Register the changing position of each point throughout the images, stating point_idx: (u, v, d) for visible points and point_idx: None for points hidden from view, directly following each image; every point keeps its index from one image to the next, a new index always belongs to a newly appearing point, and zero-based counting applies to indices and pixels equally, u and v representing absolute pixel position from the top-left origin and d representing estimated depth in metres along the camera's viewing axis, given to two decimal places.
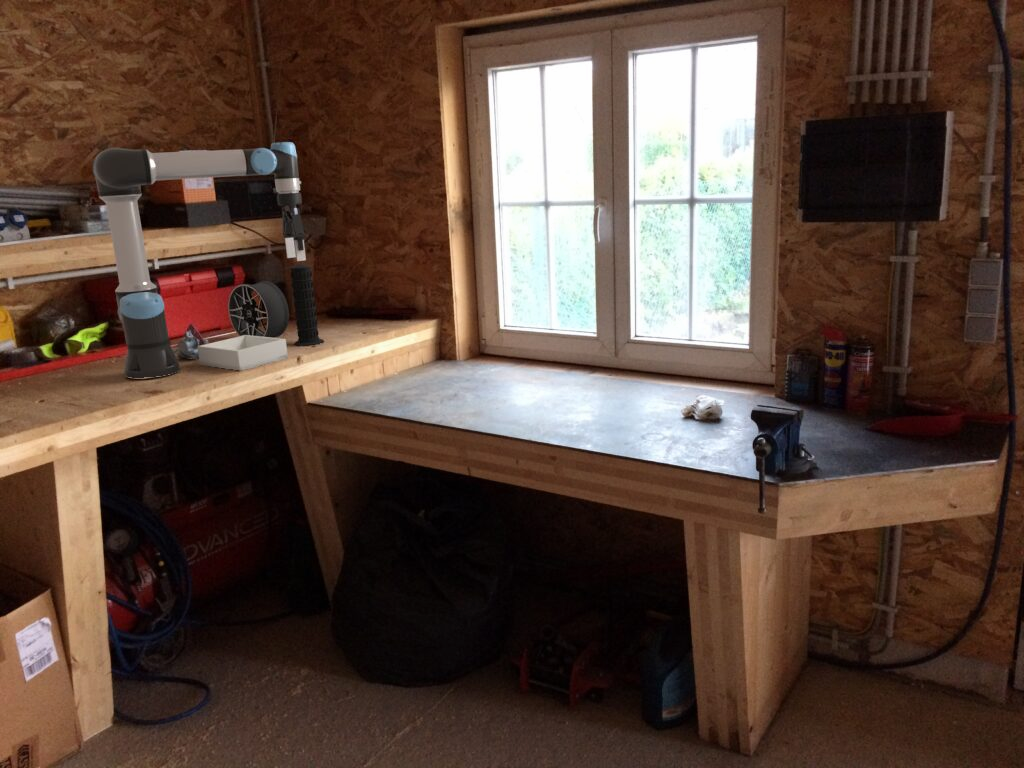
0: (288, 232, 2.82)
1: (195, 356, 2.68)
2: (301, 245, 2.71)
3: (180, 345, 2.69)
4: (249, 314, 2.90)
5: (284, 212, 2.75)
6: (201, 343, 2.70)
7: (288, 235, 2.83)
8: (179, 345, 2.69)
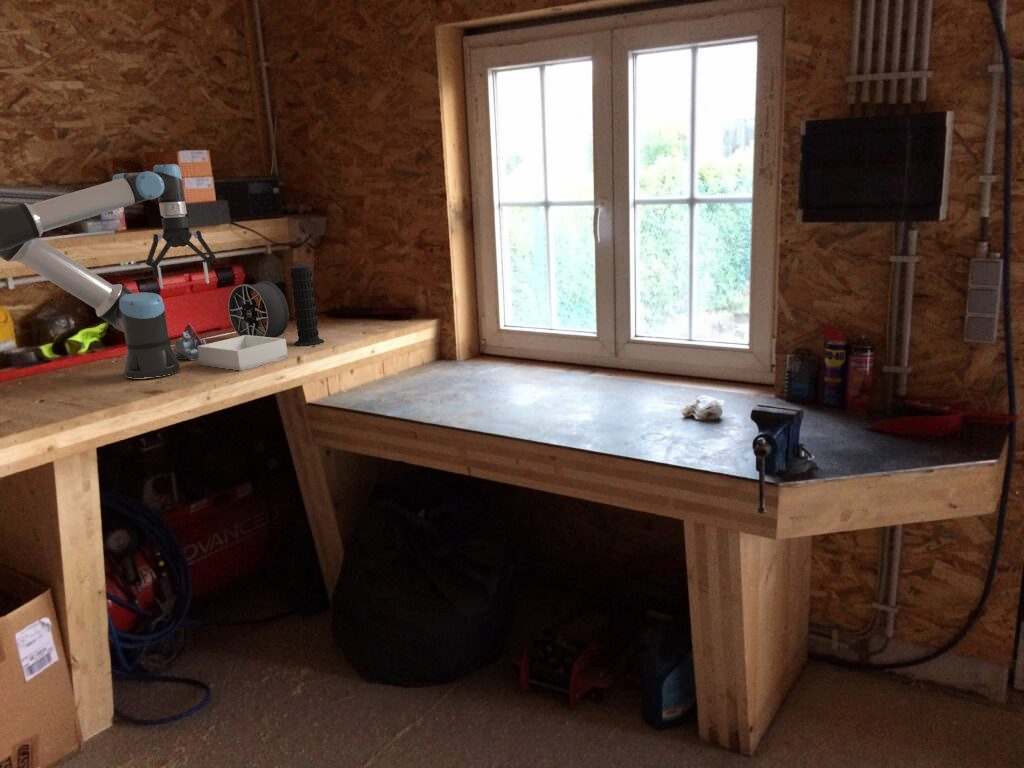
0: (200, 256, 2.68)
1: (192, 356, 2.68)
2: None
3: (177, 345, 2.69)
4: (249, 314, 2.90)
5: None
6: (198, 343, 2.69)
7: (205, 259, 2.69)
8: (177, 346, 2.69)
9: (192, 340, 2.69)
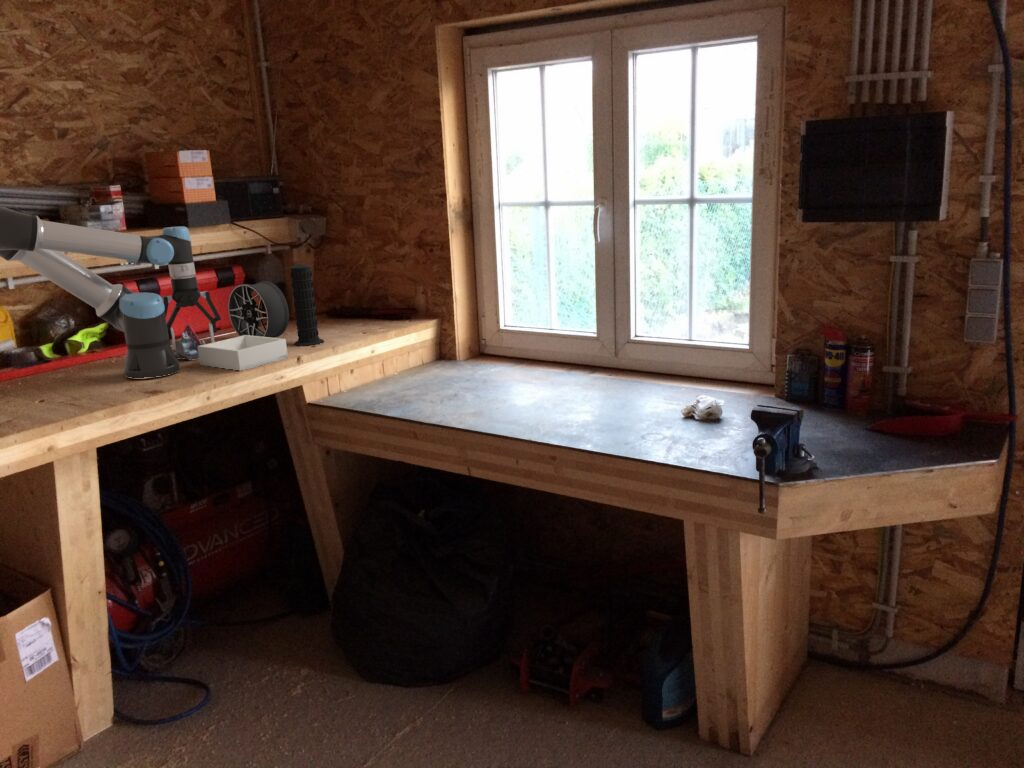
0: None
1: (191, 357, 2.68)
2: None
3: (177, 346, 2.69)
4: (249, 314, 2.90)
5: None
6: (197, 344, 2.69)
7: (211, 320, 2.73)
8: (176, 346, 2.69)
9: (191, 341, 2.69)
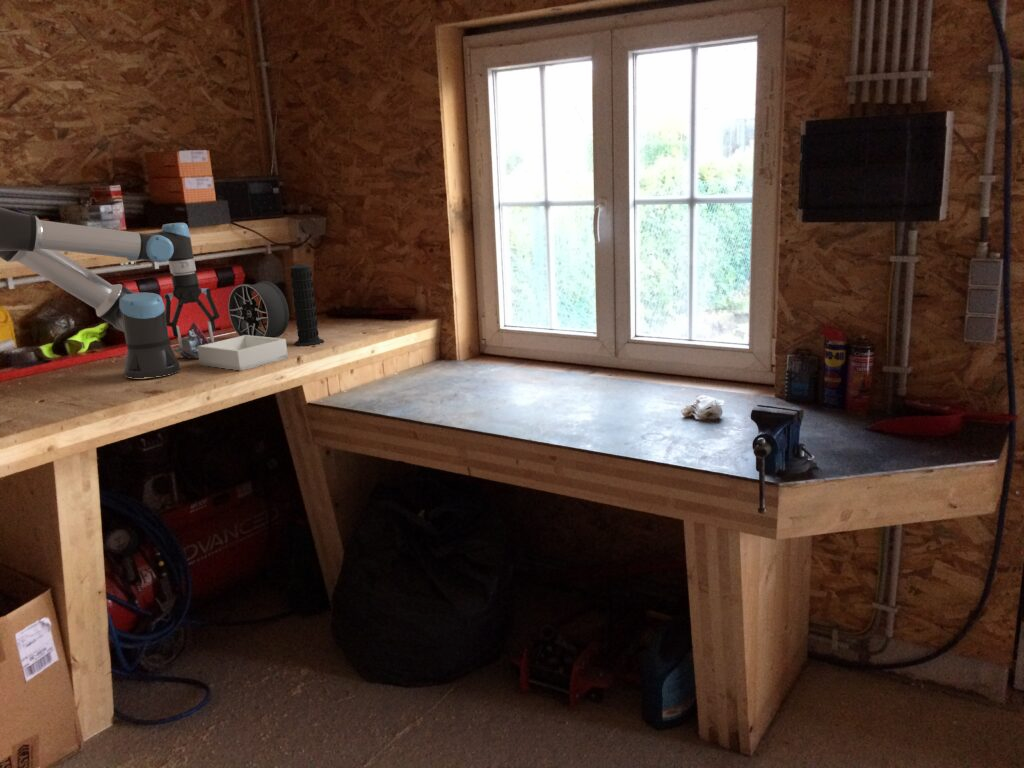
0: None
1: (198, 355, 2.69)
2: (173, 332, 2.68)
3: (183, 344, 2.70)
4: (249, 314, 2.90)
5: None
6: (204, 342, 2.70)
7: None
8: (182, 344, 2.70)
9: (198, 339, 2.70)
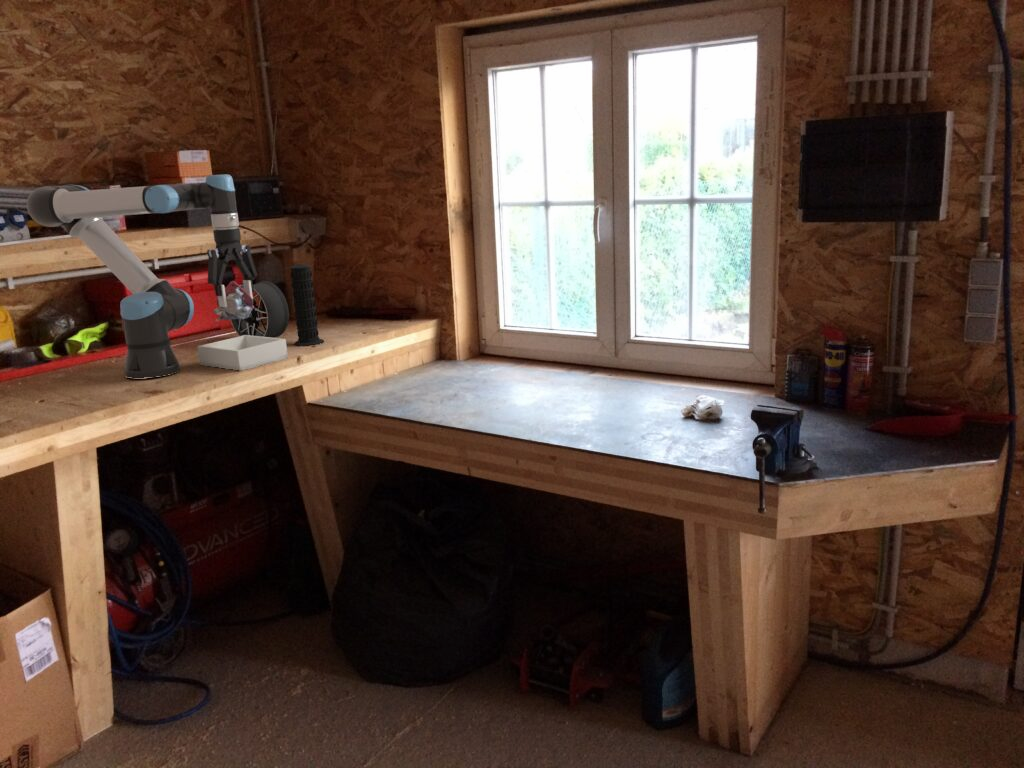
0: (243, 273, 2.59)
1: (245, 314, 2.56)
2: (217, 291, 2.52)
3: None
4: (249, 314, 2.90)
5: None
6: (248, 301, 2.58)
7: (247, 277, 2.60)
8: None
9: (240, 298, 2.57)
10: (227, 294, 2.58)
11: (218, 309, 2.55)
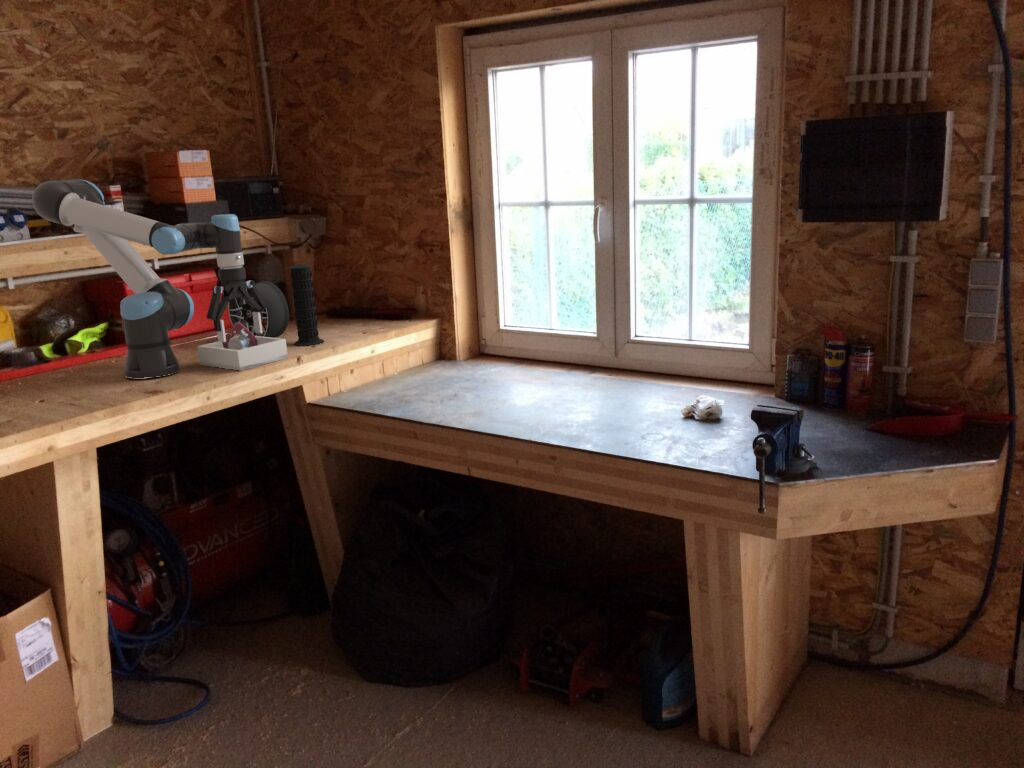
0: (252, 306, 2.63)
1: None
2: (216, 326, 2.53)
3: (232, 345, 2.57)
4: (249, 314, 2.90)
5: None
6: (253, 341, 2.61)
7: (256, 309, 2.65)
8: (231, 345, 2.57)
9: (245, 338, 2.60)
10: (232, 335, 2.61)
11: None
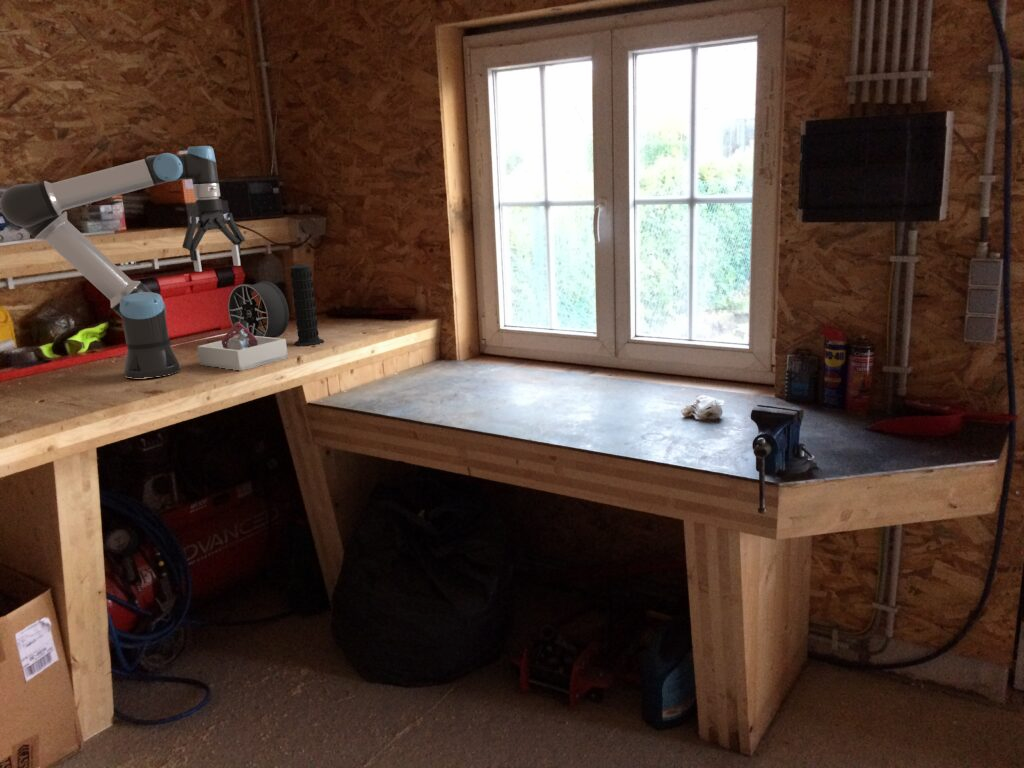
0: (230, 239, 2.68)
1: None
2: (191, 255, 2.58)
3: (231, 345, 2.57)
4: (249, 314, 2.90)
5: None
6: (252, 341, 2.61)
7: (234, 242, 2.70)
8: (230, 346, 2.57)
9: (245, 338, 2.60)
10: (232, 335, 2.61)
11: None
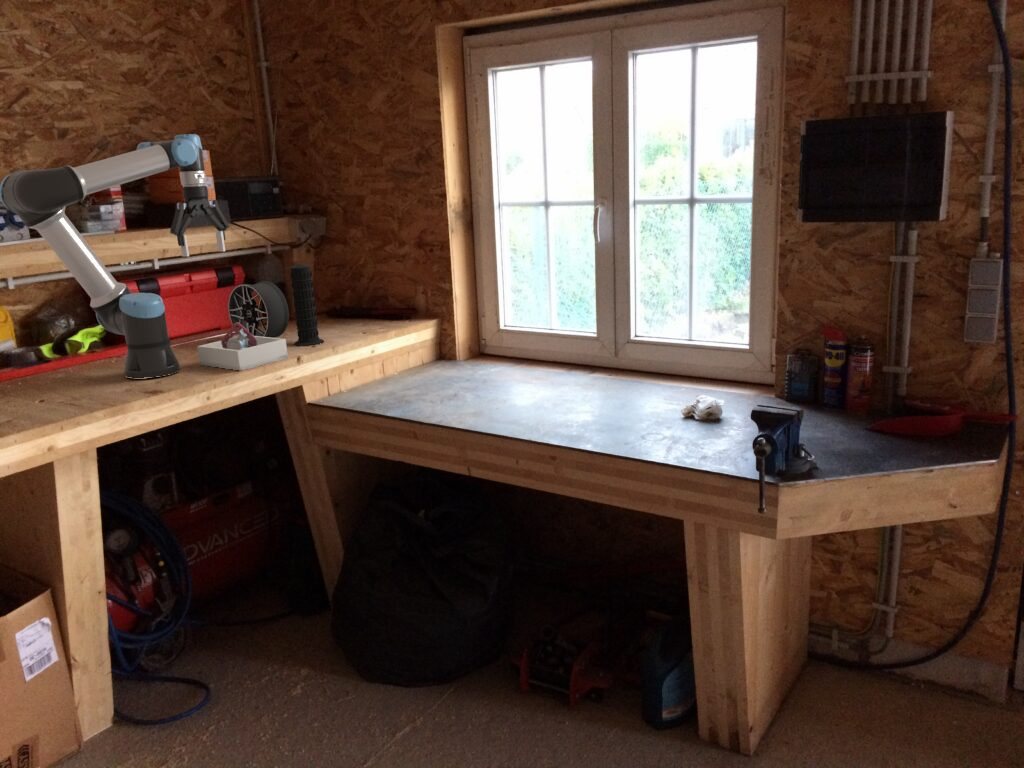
0: (215, 225, 2.76)
1: None
2: (179, 241, 2.66)
3: (231, 345, 2.57)
4: (249, 314, 2.90)
5: None
6: (252, 341, 2.60)
7: (219, 228, 2.78)
8: (229, 346, 2.57)
9: (244, 339, 2.60)
10: (231, 335, 2.61)
11: None
